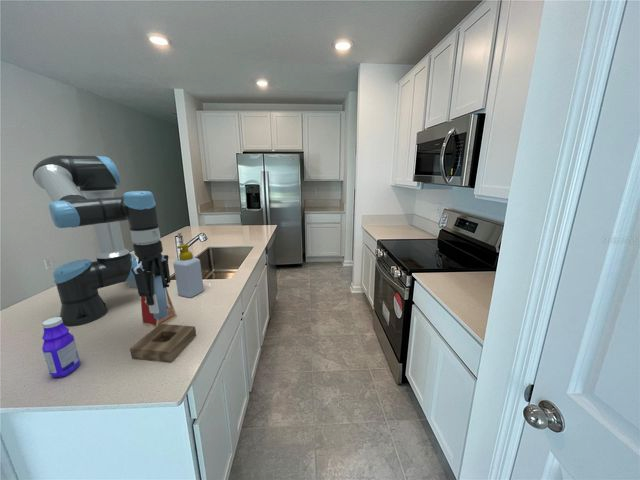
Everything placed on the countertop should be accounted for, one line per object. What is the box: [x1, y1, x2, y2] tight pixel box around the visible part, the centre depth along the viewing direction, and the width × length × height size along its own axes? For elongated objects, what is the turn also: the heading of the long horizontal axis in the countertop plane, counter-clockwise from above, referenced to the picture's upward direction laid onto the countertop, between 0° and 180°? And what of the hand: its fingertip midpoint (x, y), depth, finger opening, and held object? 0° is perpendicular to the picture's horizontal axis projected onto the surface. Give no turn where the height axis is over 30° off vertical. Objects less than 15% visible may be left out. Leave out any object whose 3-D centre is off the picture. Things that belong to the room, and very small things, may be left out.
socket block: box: [129, 323, 197, 364], centre depth 92 cm, size 14×14×4 cm
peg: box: [153, 275, 168, 319], centre depth 87 cm, size 4×4×14 cm
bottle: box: [41, 316, 81, 378], centre depth 79 cm, size 7×6×17 cm
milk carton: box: [140, 290, 178, 328], centre depth 106 cm, size 9×9×20 cm
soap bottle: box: [172, 243, 205, 298], centre depth 128 cm, size 9×9×25 cm
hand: (159, 308), depth 88 cm, fingers closed on peg, 4 cm apart
